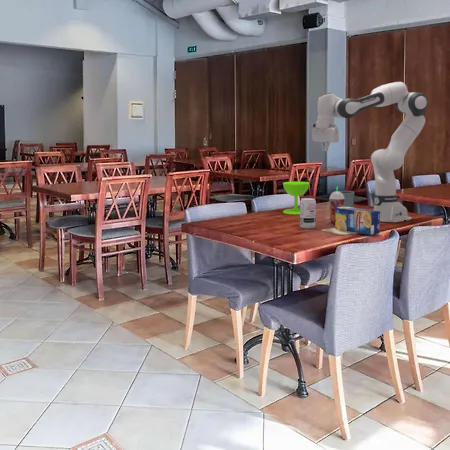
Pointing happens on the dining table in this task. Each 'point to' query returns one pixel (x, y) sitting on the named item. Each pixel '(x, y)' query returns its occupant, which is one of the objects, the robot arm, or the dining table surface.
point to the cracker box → (358, 220)
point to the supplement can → (307, 213)
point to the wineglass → (295, 194)
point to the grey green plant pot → (348, 198)
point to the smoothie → (335, 204)
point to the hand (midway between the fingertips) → (325, 150)
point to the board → (339, 232)
